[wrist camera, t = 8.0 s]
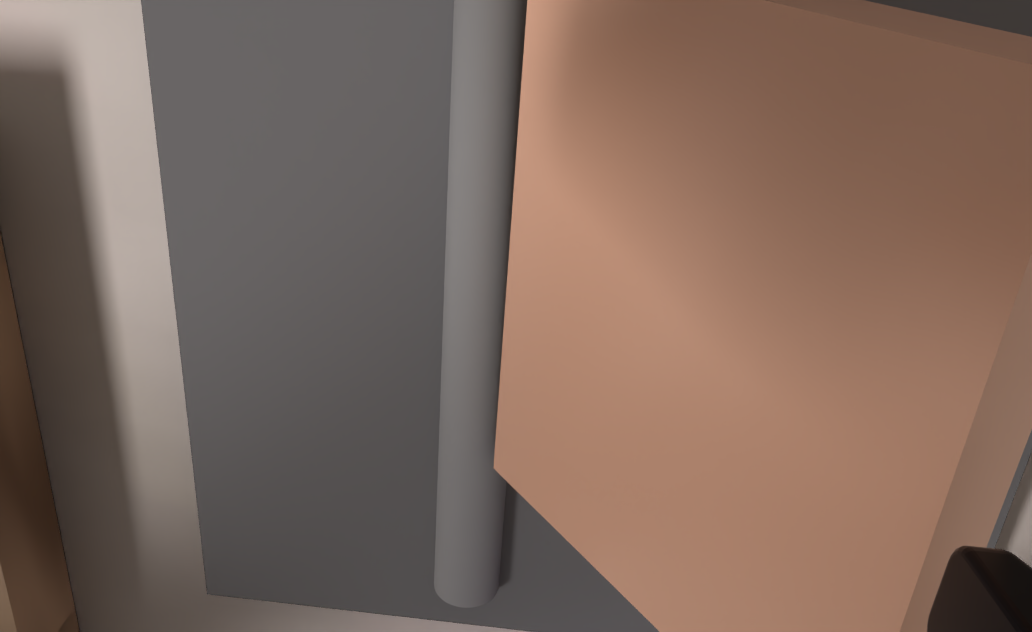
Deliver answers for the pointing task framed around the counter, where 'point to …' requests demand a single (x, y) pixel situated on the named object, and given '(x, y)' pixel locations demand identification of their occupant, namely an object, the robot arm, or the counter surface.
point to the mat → (366, 303)
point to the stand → (26, 498)
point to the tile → (768, 302)
